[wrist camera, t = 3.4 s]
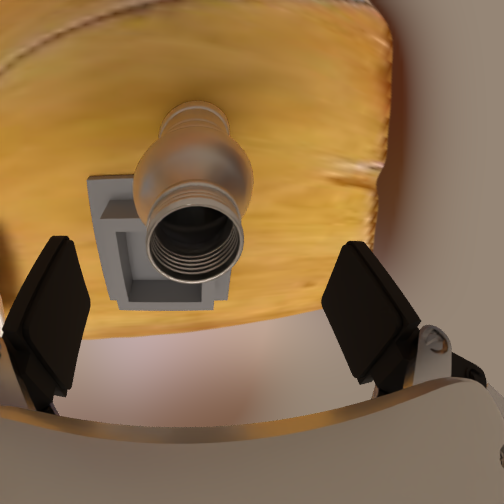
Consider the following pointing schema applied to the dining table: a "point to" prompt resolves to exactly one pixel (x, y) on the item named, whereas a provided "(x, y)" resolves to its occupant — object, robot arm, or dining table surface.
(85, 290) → the robot arm
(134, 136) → the dining table surface
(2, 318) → the bowl
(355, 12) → the dining table surface
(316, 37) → the dining table surface
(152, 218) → the plastic bottle
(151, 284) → the gray square tray
